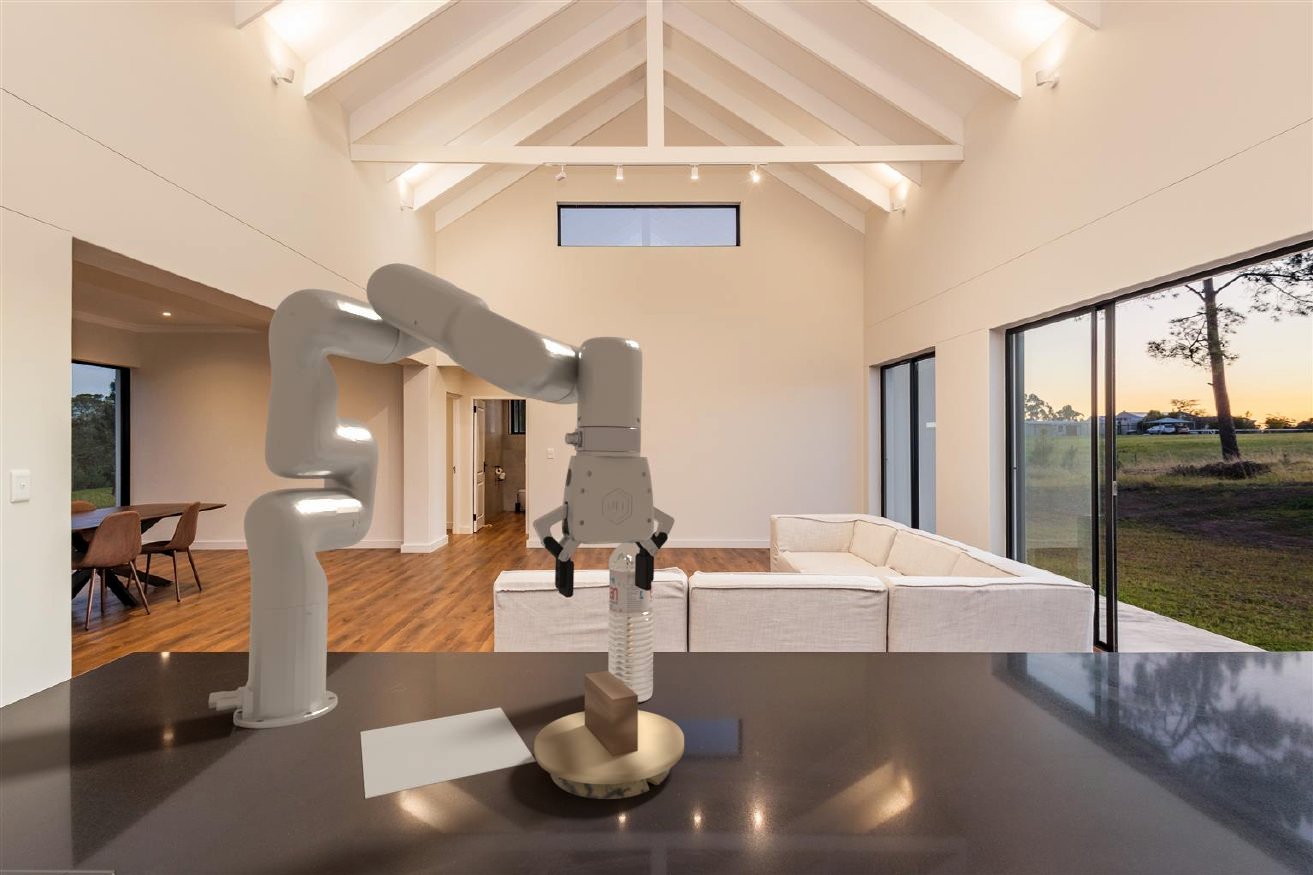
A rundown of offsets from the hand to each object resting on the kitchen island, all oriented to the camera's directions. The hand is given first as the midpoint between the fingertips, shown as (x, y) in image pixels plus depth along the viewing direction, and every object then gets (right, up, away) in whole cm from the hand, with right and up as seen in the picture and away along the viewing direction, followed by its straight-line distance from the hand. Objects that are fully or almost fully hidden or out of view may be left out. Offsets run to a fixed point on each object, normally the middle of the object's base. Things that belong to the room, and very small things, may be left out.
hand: (605, 591), depth 72 cm
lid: (+1, -18, -1) cm, 18 cm away
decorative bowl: (+1, -21, -1) cm, 21 cm away
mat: (-20, -21, +4) cm, 29 cm away
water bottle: (+2, -22, +22) cm, 31 cm away
